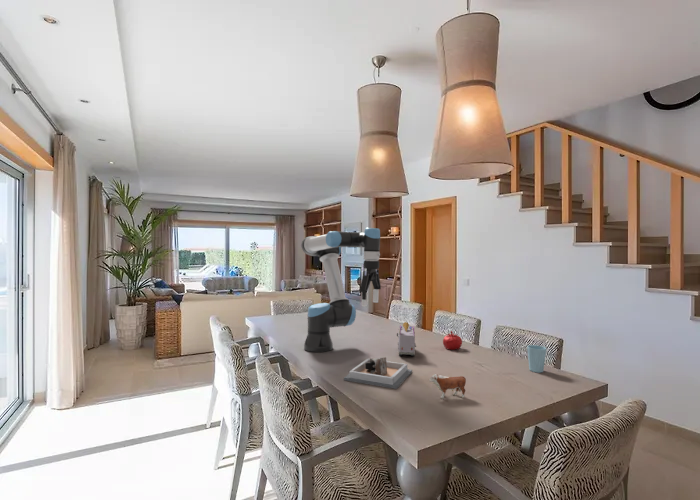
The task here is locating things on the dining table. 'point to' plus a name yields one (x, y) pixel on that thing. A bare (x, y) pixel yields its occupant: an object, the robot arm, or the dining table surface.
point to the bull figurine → (449, 384)
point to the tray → (390, 380)
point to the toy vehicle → (406, 340)
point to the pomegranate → (452, 341)
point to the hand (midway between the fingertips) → (370, 304)
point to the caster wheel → (377, 366)
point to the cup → (536, 358)
